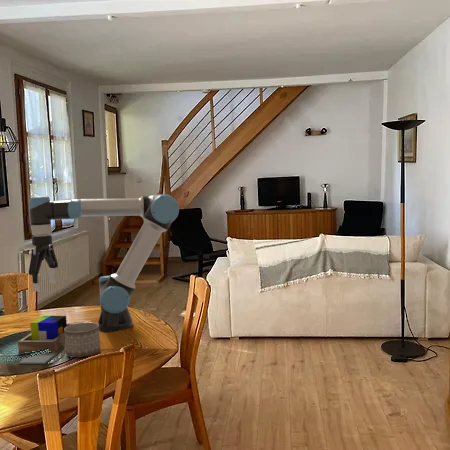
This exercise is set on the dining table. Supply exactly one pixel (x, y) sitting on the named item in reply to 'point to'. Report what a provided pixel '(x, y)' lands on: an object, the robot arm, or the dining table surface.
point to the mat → (38, 359)
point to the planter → (82, 339)
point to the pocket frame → (41, 343)
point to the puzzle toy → (47, 327)
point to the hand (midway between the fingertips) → (45, 287)
